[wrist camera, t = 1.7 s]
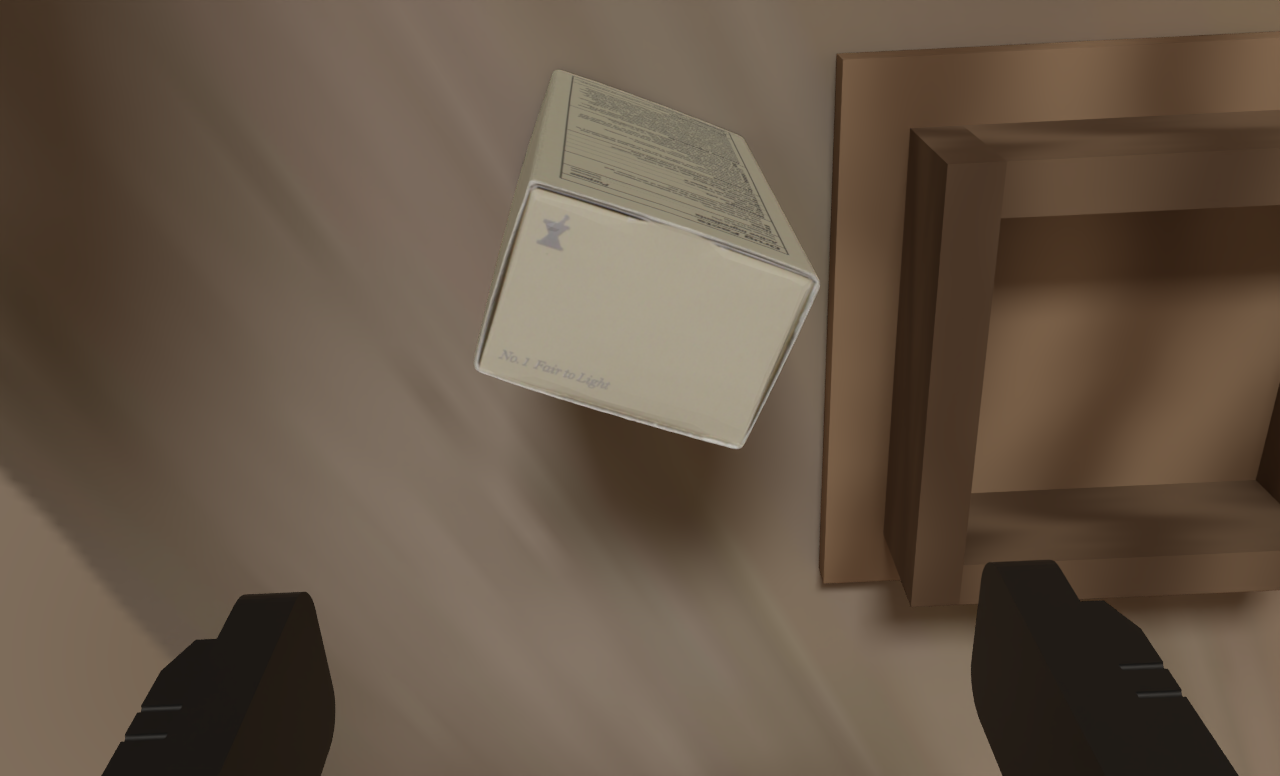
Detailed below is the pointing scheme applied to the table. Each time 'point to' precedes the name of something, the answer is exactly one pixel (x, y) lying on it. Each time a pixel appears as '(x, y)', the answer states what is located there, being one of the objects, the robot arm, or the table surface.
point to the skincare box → (644, 268)
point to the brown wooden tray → (1056, 317)
